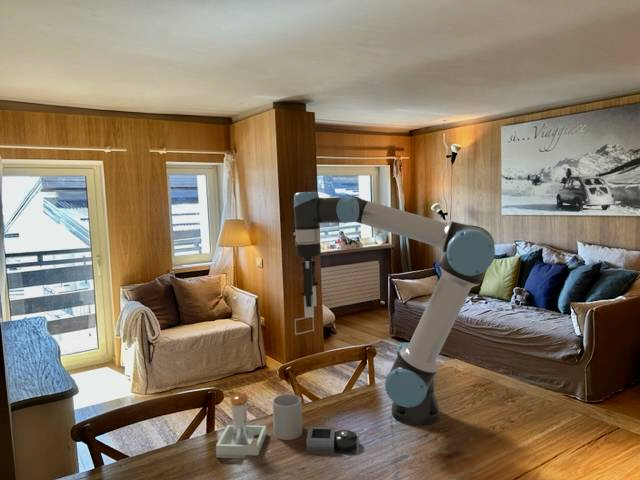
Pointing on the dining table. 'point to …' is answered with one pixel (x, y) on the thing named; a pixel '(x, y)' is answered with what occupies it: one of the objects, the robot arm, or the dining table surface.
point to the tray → (229, 450)
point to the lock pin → (239, 419)
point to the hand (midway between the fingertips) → (311, 311)
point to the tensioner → (331, 441)
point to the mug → (287, 417)
